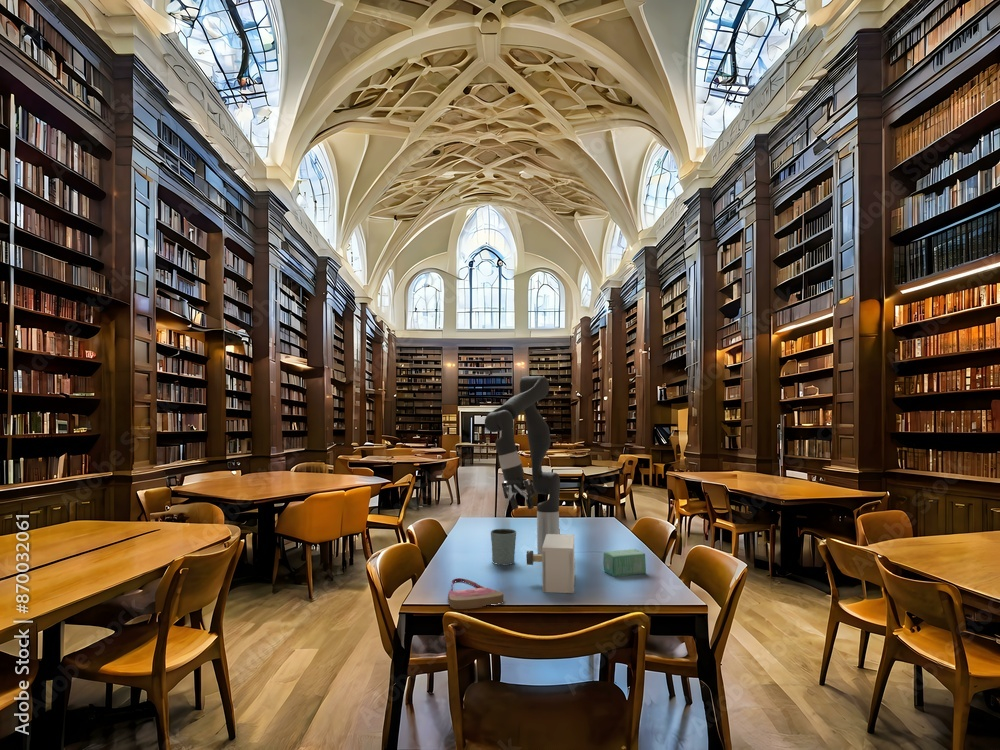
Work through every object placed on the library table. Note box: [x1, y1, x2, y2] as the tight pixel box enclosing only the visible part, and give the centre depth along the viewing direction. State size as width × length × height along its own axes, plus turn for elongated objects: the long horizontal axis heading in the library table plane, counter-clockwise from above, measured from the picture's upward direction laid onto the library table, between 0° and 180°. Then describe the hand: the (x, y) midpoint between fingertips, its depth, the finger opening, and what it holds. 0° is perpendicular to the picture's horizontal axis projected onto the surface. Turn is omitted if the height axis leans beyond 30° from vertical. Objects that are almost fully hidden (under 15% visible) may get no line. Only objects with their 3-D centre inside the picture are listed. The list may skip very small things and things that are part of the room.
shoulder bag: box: [447, 577, 504, 610], centre depth 178 cm, size 17×3×28 cm
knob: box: [526, 550, 542, 566], centre depth 191 cm, size 5×8×5 cm, turn 82°
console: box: [541, 533, 576, 594], centre depth 190 cm, size 22×10×14 cm, turn 172°
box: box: [602, 548, 647, 578], centre depth 202 cm, size 7×14×8 cm, turn 108°
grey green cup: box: [490, 528, 517, 565], centre depth 217 cm, size 10×10×12 cm
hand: (523, 508), depth 200 cm, fingers open, 8 cm apart
